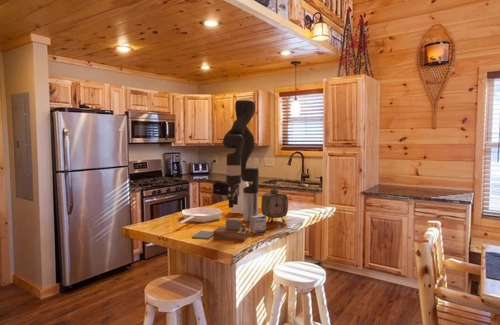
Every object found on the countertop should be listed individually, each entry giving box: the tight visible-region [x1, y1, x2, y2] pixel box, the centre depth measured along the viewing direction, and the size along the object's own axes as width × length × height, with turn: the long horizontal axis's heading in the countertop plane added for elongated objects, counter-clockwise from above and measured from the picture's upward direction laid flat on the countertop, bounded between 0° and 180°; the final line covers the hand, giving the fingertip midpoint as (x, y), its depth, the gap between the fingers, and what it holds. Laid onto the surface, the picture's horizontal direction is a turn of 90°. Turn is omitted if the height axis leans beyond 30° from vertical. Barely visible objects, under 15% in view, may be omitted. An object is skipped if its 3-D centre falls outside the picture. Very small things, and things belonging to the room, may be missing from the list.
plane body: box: [212, 223, 250, 242], centre depth 171 cm, size 10×16×7 cm, turn 77°
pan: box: [178, 206, 223, 225], centre depth 206 cm, size 28×41×4 cm
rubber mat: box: [191, 230, 213, 240], centre depth 174 cm, size 12×9×1 cm
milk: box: [230, 179, 250, 215], centre depth 232 cm, size 12×12×26 cm
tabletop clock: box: [260, 180, 289, 225], centre depth 204 cm, size 14×9×25 cm, turn 117°
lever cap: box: [225, 217, 242, 231], centre depth 170 cm, size 4×7×6 cm, turn 77°
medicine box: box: [249, 214, 267, 234], centre depth 182 cm, size 8×4×9 cm, turn 126°
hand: (233, 206), depth 170 cm, fingers open, 8 cm apart
